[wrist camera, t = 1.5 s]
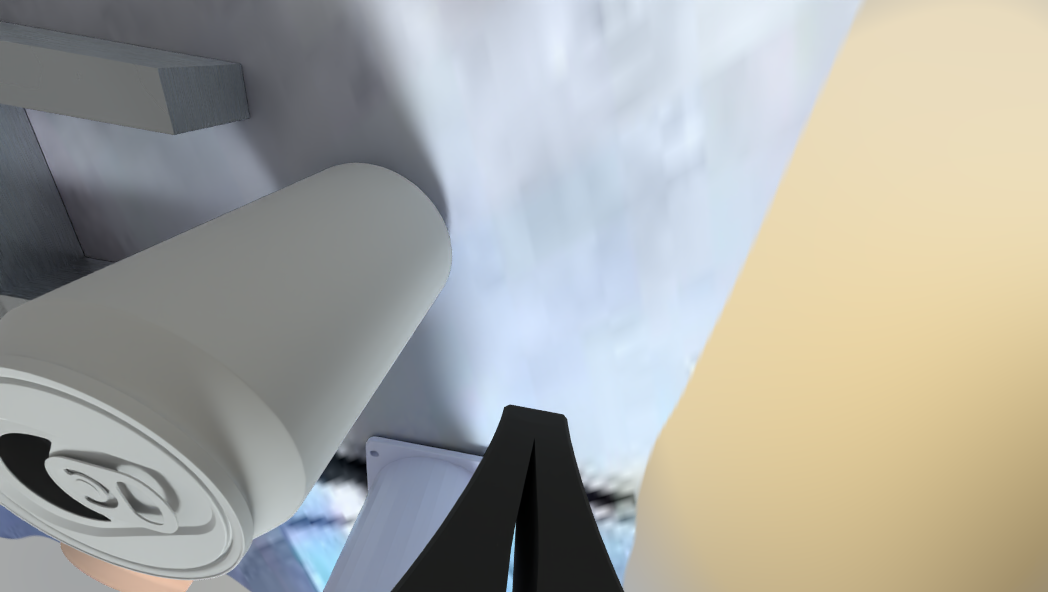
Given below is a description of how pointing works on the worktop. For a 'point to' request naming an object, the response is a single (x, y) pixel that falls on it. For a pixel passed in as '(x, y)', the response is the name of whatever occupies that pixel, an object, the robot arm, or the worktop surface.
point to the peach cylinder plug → (121, 575)
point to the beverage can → (213, 371)
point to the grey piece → (95, 94)
